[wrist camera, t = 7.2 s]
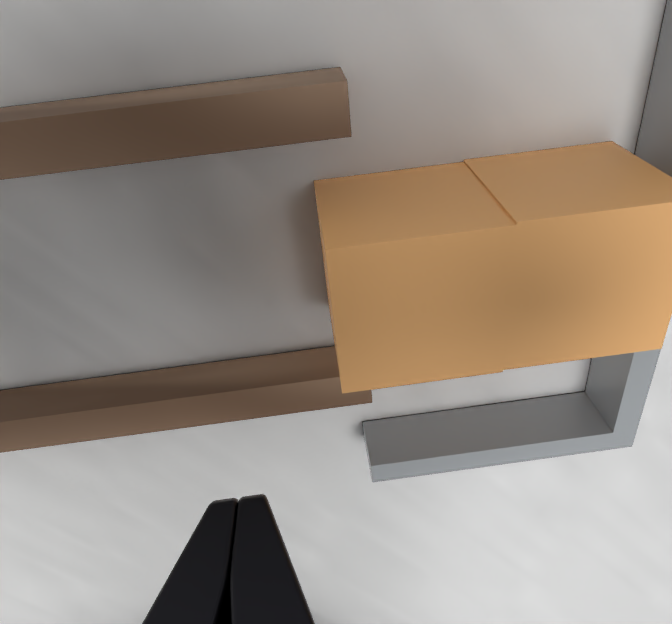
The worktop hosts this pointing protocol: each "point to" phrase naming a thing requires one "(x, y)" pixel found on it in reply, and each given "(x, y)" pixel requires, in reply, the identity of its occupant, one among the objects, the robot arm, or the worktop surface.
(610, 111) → the worktop surface
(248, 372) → the slot guide
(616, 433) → the tray
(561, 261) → the block
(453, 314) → the block
